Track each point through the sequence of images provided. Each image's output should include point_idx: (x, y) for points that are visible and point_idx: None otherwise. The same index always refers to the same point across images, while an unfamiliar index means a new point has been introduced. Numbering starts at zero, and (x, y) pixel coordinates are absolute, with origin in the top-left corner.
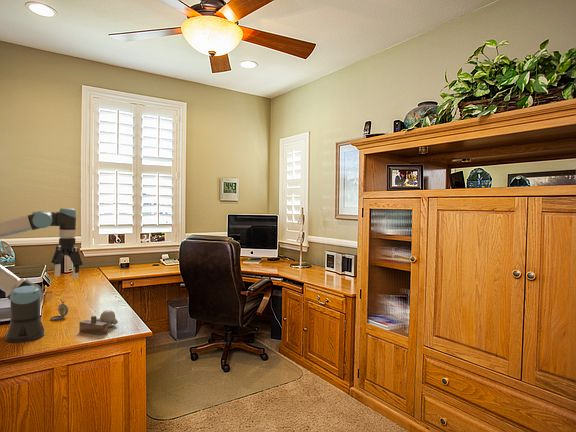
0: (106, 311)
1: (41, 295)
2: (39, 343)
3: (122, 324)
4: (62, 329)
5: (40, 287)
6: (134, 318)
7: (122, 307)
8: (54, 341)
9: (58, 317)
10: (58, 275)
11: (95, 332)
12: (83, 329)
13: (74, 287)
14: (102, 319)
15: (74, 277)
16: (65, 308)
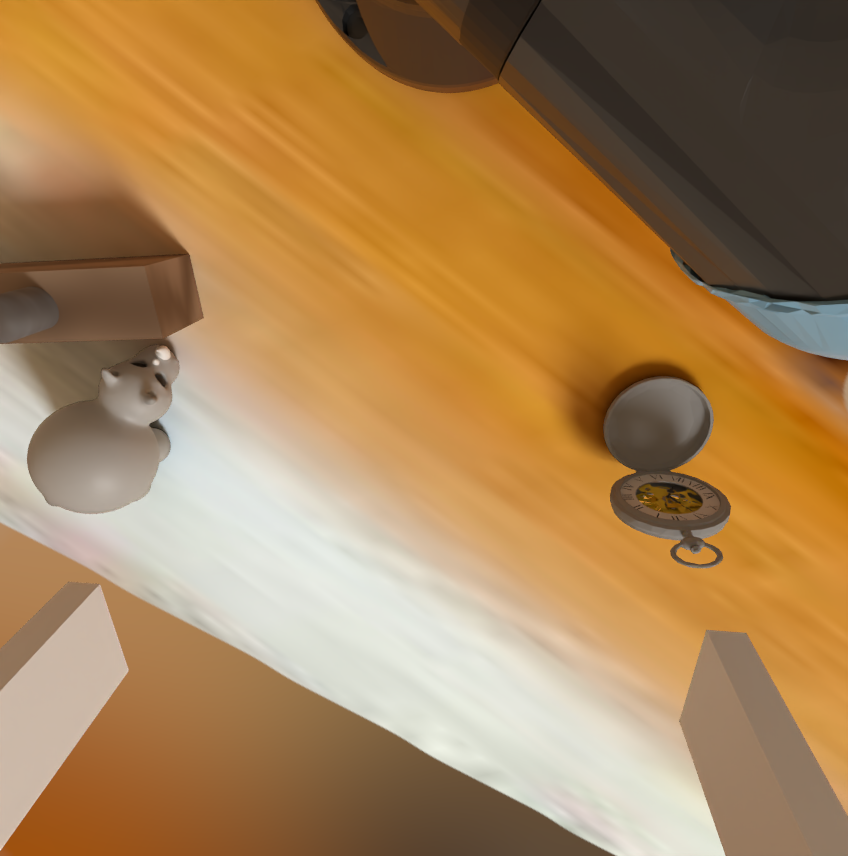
0: (46, 464)
1: (535, 97)
2: None
3: None
4: (364, 242)
5: (845, 301)
6: (171, 605)
7: (447, 742)
8: None
9: (674, 446)
10: (697, 709)
11: (26, 264)
12: (134, 259)
13: None
14: (79, 403)
15: (44, 628)
16: (636, 507)
